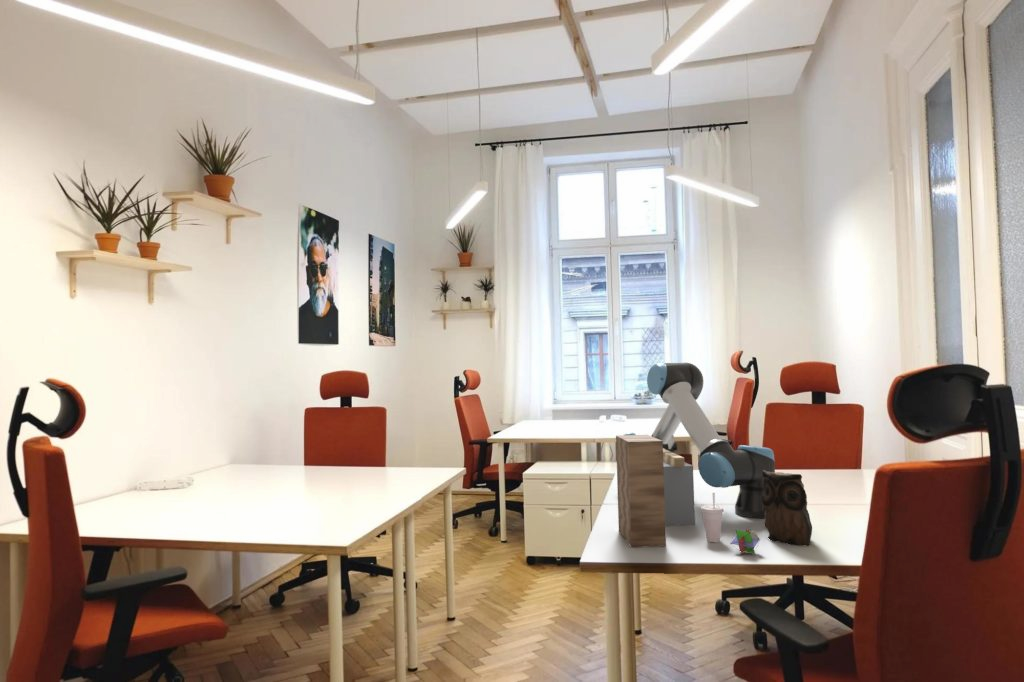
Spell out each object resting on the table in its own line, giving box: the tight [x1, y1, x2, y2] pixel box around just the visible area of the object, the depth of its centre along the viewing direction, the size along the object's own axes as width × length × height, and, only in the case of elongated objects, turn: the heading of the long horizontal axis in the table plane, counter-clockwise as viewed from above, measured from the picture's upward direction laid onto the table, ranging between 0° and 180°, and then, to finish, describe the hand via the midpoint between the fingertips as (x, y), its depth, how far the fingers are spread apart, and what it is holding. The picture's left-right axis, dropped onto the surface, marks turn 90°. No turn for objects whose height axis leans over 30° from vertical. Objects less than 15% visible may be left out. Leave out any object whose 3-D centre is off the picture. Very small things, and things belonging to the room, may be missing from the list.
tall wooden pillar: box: [615, 434, 667, 548], centre depth 199 cm, size 18×10×30 cm, turn 2°
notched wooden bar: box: [663, 449, 686, 467], centre depth 225 cm, size 28×3×3 cm, turn 2°
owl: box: [762, 470, 813, 547], centre depth 193 cm, size 13×13×20 cm
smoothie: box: [700, 492, 724, 543], centre depth 194 cm, size 6×6×14 cm
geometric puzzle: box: [729, 527, 761, 556], centre depth 180 cm, size 7×7×8 cm
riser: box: [663, 461, 696, 526], centre depth 220 cm, size 14×10×19 cm
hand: (654, 438), depth 242 cm, fingers open, 13 cm apart
